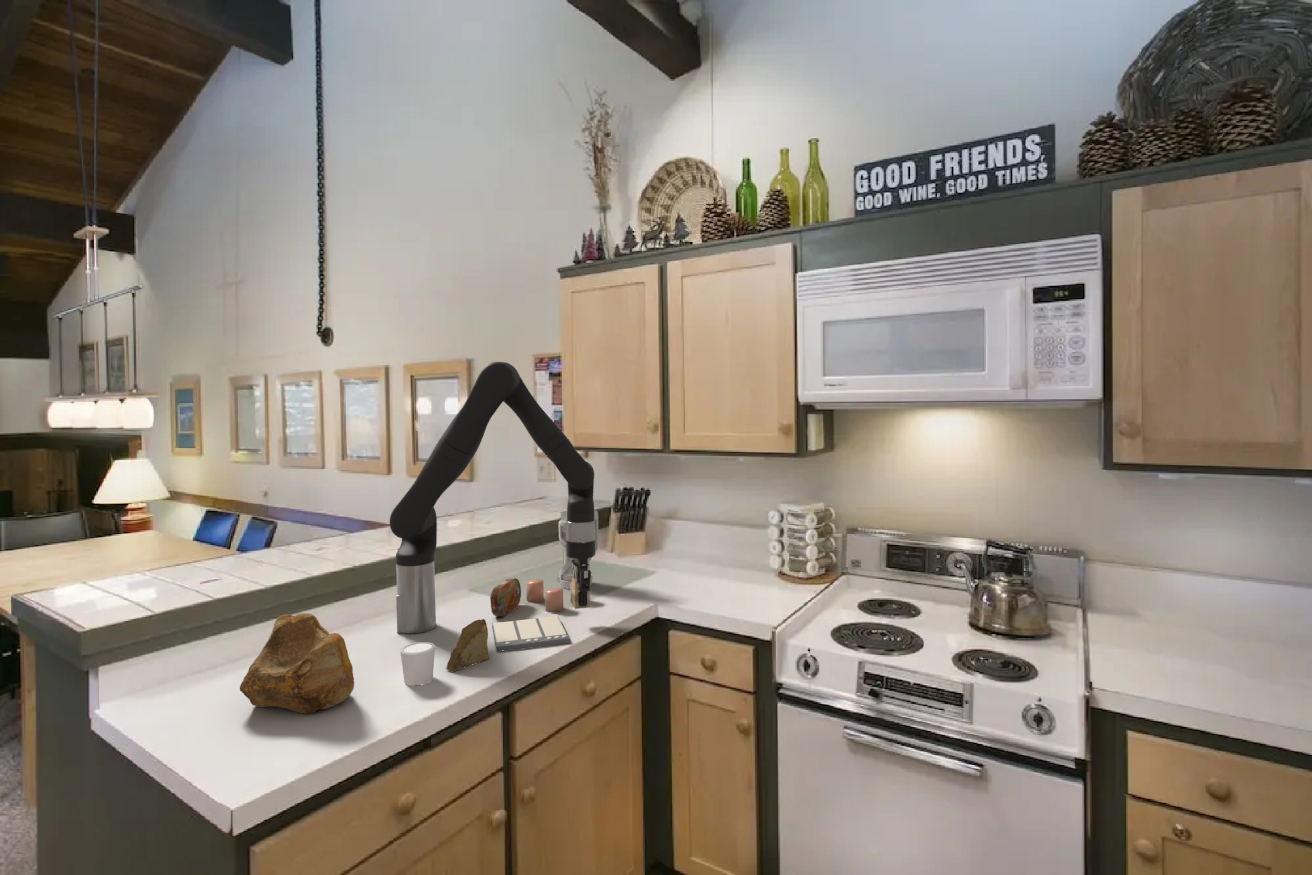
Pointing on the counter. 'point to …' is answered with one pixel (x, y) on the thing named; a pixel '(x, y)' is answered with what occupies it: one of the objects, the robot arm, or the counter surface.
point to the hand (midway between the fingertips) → (581, 602)
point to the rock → (470, 646)
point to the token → (575, 595)
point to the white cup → (418, 663)
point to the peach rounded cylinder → (535, 590)
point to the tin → (505, 597)
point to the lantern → (566, 570)
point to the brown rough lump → (300, 667)
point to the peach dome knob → (554, 600)
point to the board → (529, 633)
